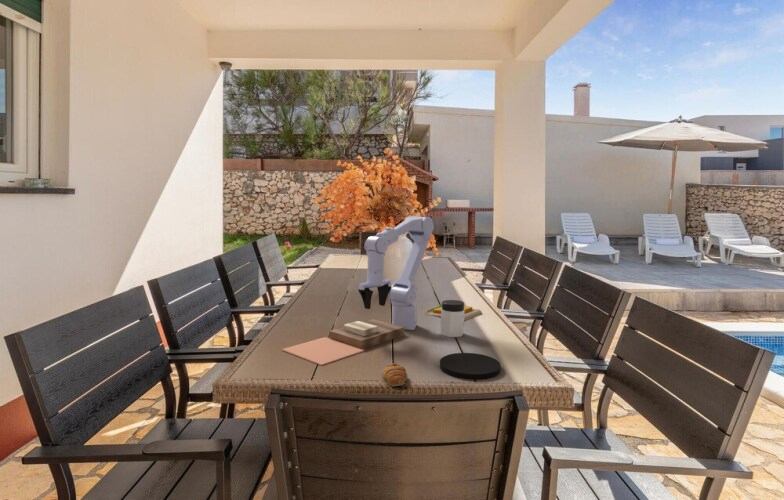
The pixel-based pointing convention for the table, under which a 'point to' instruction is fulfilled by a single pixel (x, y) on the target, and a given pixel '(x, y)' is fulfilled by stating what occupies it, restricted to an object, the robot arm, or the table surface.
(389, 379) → the pastry
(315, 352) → the terracotta mat
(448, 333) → the jar
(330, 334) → the walnut board
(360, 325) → the birch tile
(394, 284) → the robot arm
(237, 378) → the table surface
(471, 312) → the wooden puzzle
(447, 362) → the wireless charger
